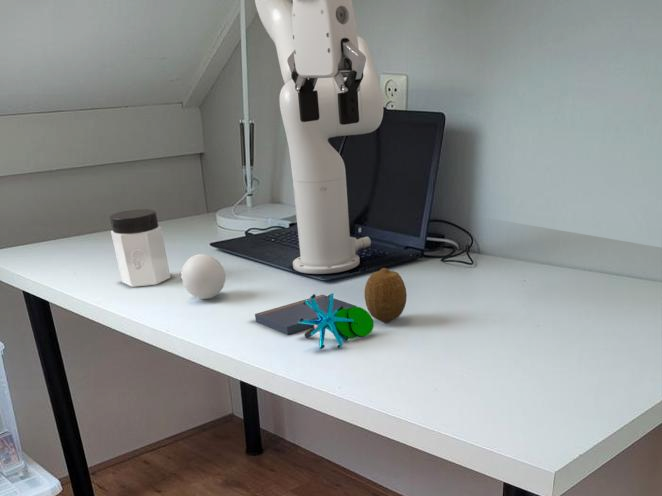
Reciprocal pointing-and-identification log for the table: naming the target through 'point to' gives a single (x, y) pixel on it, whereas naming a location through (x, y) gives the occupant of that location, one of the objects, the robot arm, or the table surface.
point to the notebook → (296, 314)
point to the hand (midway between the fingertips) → (329, 122)
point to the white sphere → (203, 276)
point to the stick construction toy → (339, 322)
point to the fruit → (385, 295)
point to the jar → (139, 247)
